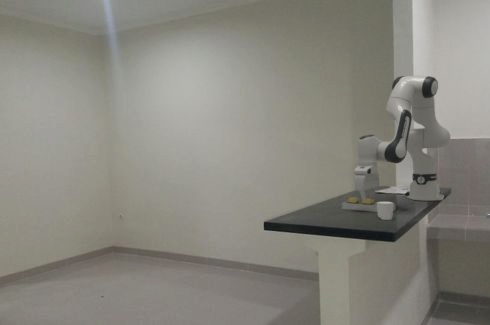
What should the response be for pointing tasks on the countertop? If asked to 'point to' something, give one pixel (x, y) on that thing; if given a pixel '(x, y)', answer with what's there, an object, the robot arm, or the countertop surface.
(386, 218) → the white cup
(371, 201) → the tan yellow block
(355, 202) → the nut seated
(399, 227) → the countertop surface
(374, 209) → the rail
